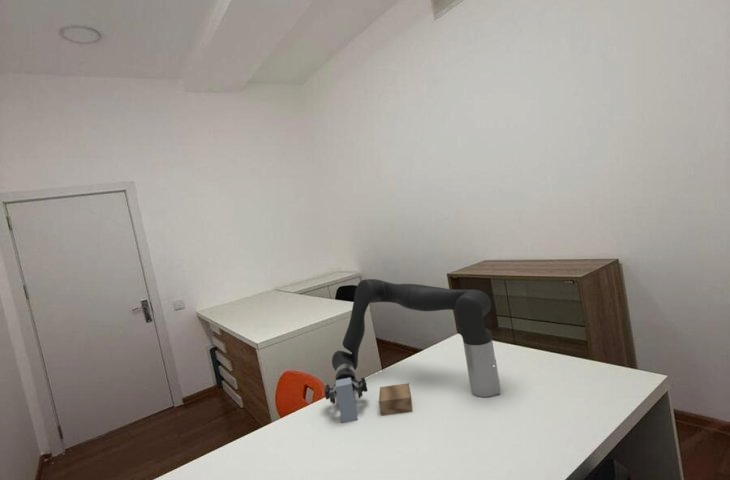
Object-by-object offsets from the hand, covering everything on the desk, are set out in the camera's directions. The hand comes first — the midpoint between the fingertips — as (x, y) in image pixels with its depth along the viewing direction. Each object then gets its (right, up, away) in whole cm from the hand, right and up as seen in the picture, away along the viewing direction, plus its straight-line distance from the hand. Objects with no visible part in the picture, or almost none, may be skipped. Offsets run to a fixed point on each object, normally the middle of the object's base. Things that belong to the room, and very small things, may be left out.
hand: (346, 398), depth 127 cm
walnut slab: (+17, -4, +3) cm, 17 cm away
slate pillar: (+1, -6, +1) cm, 7 cm away
